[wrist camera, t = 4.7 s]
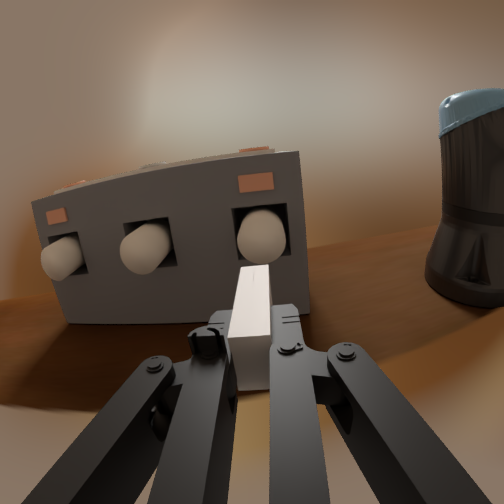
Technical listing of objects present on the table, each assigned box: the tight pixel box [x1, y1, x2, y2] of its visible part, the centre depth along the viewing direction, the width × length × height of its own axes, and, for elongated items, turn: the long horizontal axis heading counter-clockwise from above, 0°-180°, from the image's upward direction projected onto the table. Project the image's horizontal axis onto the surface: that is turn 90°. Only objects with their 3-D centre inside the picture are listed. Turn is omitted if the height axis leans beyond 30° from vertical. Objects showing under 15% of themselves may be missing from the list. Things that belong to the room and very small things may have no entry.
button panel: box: [31, 147, 310, 324], centre depth 32 cm, size 30×9×17 cm, turn 87°
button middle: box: [120, 218, 174, 275], centre depth 28 cm, size 4×6×4 cm
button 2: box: [237, 205, 286, 264], centre depth 27 cm, size 4×6×4 cm
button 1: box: [41, 231, 86, 281], centre depth 29 cm, size 4×6×4 cm
